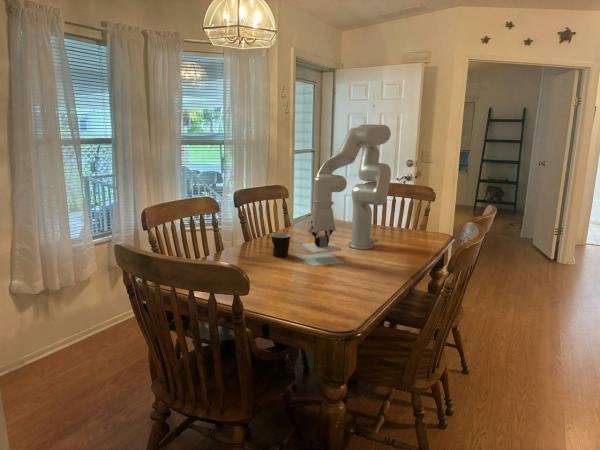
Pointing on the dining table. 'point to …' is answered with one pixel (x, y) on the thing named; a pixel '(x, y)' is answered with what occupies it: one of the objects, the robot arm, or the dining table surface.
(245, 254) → the dining table surface
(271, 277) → the dining table surface
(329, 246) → the lid
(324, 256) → the mat
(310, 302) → the dining table surface
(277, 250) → the coffee mug
